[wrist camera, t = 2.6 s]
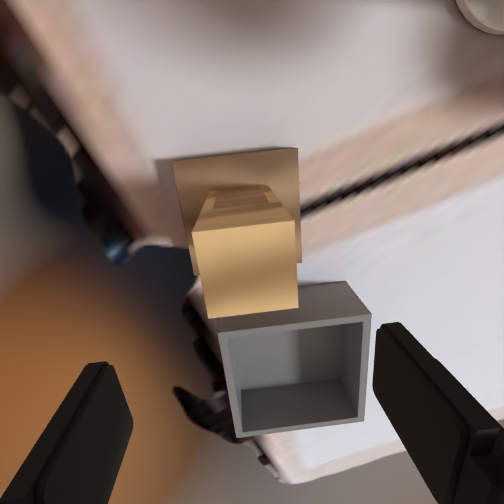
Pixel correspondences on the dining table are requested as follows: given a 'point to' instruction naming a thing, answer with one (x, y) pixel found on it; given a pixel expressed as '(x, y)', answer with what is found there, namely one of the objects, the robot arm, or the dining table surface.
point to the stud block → (237, 184)
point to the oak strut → (246, 252)
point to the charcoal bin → (298, 362)
